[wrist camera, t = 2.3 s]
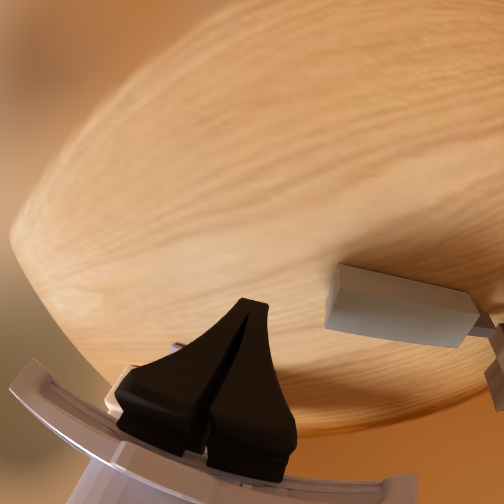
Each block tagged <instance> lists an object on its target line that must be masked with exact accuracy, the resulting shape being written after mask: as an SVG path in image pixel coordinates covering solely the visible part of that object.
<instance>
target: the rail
mask: <svg viewBox="0 0 504 504" xmlns="http://www.w3.org/2000/svg"><path fill="white" fill-rule="evenodd" d="M325 329H330V330H335V331H340V332H346V333H351V334H357V335H363V336H369V337H375V338H381V339H387V340H394V341H401V342H408V343H415V344H423V345H431V346H439V347H448V348H458V347H459V346H460V344H461V343H462V342H463V340H464V339H465V337H466V336H467V335H470V336H478V337H487V338H491V337H492V336H493V334H494V333H495V331H496V330H497V329H496V328H495V326H494V324H493V322H492V320H491V318H490V317H489V315H488V313H487V312H484V311H479V310H477V308H476V306H475V305H474V303H473V301H472V299H471V298H470V296H469V294H468V293H466V292H462V291H458V290H453V289H449V288H445V287H440V286H436V285H432V284H427V283H423V282H418V281H414V280H410V279H405V278H401V277H396V276H392V275H388V274H383V273H379V272H374V271H370V270H365V269H361V268H356V267H352V266H347V265H343V264H338V267H337V270H336V274H335V277H334V280H333V283H332V286H331V289H330V292H329V295H328V297H327V300H326V307H325Z"/></svg>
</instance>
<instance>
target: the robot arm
mask: <svg viewBox="0 0 504 504" xmlns="http://www.w3.org/2000/svg"><path fill="white" fill-rule="evenodd" d="M268 309H269V305H268V304H267V303H262V302H258V301H254V300H250V299H246V298H241V299H239V300H238V302H237V303H236V304H235V305H234V306H233V307H232V308H231V310H230V311H229V312H228V313H227V314H226V315H225V316H224V317H222V318H221V319H220V320H219V321H218V322H217V323H216V324H215V325H214V326H212V327H211V328H210V329H209V330H208V331H206V332H205V333H204V334H203V335H201V336H200V337H198V338H197V339H196V340H194V341H193V342H191V343H190V344H188V345H186V346H185V347H181V346H178V345H176V344H172V345H171V346H170V348H169V349H170V354H169V355H168V356H166V357H163V358H161V359H159V360H157V361H154V362H152V363H149V364H146V365H143V366H140V367H137V368H134V369H131V370H130V371H129V373H128V374H127V375H126V376H125V377H124V378H123V380H122V381H121V383H120V384H119V386H118V387H117V389H116V390H115V392H114V396H115V398H116V400H117V402H118V404H119V405H120V407H121V409H122V410H123V413H122V415H121V416H120V418H119V420H118V419H117V418H115V417H113V416H111V415H109V414H107V413H106V412H104V411H102V410H101V409H98V408H97V407H95V406H94V405H92V404H90V403H89V402H87V401H85V400H84V399H82V398H81V397H79V396H78V395H76V394H75V393H73V392H72V391H70V390H69V389H68V388H66V387H65V386H63V385H62V384H61V383H59V382H58V381H56V380H55V379H54V378H53V376H52V374H51V373H50V372H49V371H48V370H47V369H46V368H45V367H44V366H43V365H41V364H40V363H39V362H38V361H37V360H35V359H34V358H33V359H32V360H31V361H30V362H29V363H28V365H27V366H26V367H25V368H24V369H23V370H22V372H21V373H20V374H19V375H18V376H17V378H16V379H15V380H14V381H13V383H12V384H11V385H10V386H9V390H10V391H11V392H12V393H13V394H14V395H15V396H16V397H17V398H18V399H19V401H20V402H21V403H22V404H23V405H24V406H25V407H26V408H27V409H28V410H29V411H30V412H31V413H32V414H33V415H34V416H36V417H37V418H38V419H39V420H40V421H41V422H42V423H43V424H45V425H46V426H47V427H48V428H49V429H51V430H52V431H53V432H54V433H56V434H57V435H58V436H59V437H61V438H62V439H63V440H65V441H66V442H67V443H68V444H70V445H71V446H73V447H74V448H75V449H77V450H78V451H80V452H81V453H83V454H84V455H85V456H87V457H88V458H90V459H91V461H90V463H89V464H88V466H87V468H86V469H85V471H84V473H83V475H82V476H81V478H80V480H79V482H78V484H77V485H76V487H75V489H74V491H73V492H72V495H71V496H70V498H69V500H68V501H67V503H66V504H416V501H417V474H416V473H413V474H403V475H394V476H390V477H388V478H386V479H384V480H382V481H339V480H323V479H311V478H302V477H293V476H287V475H284V472H285V467H286V465H287V464H288V460H289V456H290V455H291V453H292V452H293V451H294V450H295V449H296V446H297V430H296V424H295V419H294V417H293V415H292V413H291V411H290V409H289V407H288V405H287V403H286V401H285V398H284V396H283V394H282V391H281V388H280V385H279V383H278V380H277V377H276V373H275V370H274V366H273V362H272V358H271V353H270V347H269V340H268V330H267V315H268ZM250 485H251V486H253V487H252V488H251V486H250Z"/></svg>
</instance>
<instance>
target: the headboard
mask: <svg viewBox="0 0 504 504" xmlns="http://www.w3.org/2000/svg"><path fill="white" fill-rule="evenodd" d="M496 329H497V330H496V331H495V333H494V334H493V336H492V337H491V338H489V341H490V343H491V346H492V348H493V350H494V352H495V355H496V357H497V358H496V360H495V361H494V362H493V363H492V364H491V366H490V367H489V368H488V369H487V370H486V372H485V373H484V374H485V377H486V380H487V383H488V386H489V389H490V392H491V395H492V399H493V402H494V405H495V410H496V412H498V411H504V325H501V324H499V325H498V326H497V328H496Z"/></svg>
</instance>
